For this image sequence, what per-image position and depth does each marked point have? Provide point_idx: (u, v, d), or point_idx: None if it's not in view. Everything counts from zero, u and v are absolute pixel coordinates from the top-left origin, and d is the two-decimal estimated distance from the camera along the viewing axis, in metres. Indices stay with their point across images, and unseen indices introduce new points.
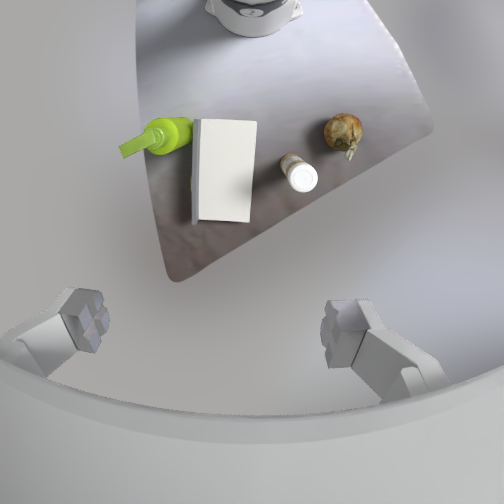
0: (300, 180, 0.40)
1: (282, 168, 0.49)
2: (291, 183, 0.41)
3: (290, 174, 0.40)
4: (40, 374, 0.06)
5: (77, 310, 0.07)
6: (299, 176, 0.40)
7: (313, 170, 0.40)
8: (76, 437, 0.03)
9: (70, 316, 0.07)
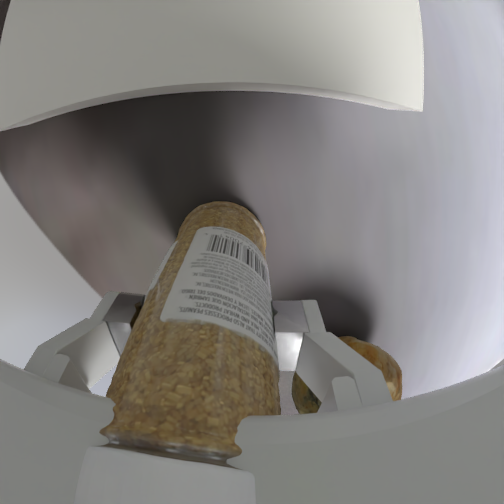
0: None
1: (201, 231, 0.10)
2: None
3: None
4: (85, 389, 0.06)
5: (126, 317, 0.07)
6: None
7: None
8: (76, 437, 0.03)
9: (119, 324, 0.07)
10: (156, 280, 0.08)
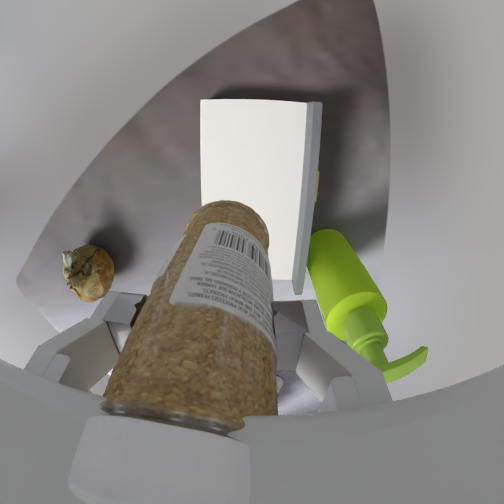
0: None
1: (209, 226, 0.10)
2: (89, 502, 0.02)
3: None
4: (85, 389, 0.06)
5: (127, 317, 0.07)
6: None
7: None
8: (76, 437, 0.03)
9: (119, 324, 0.07)
10: (165, 268, 0.08)
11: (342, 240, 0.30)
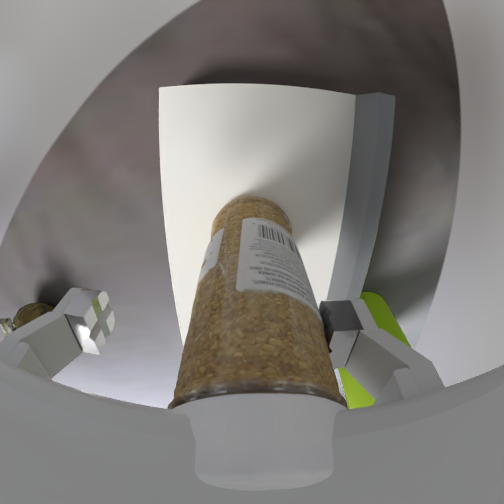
0: None
1: (248, 221, 0.11)
2: None
3: (303, 478, 0.03)
4: (45, 376, 0.06)
5: (82, 311, 0.07)
6: None
7: None
8: (76, 437, 0.03)
9: (75, 317, 0.07)
10: (215, 260, 0.09)
11: (387, 316, 0.19)
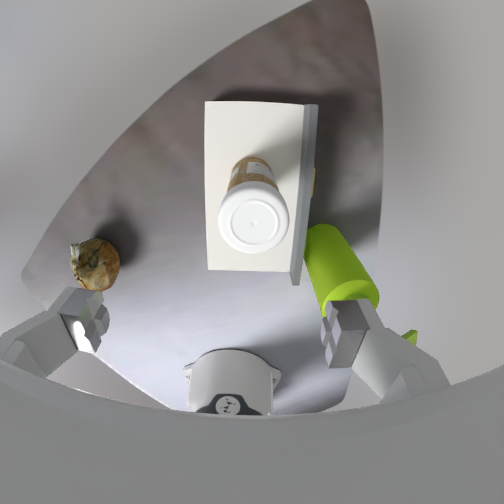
0: (249, 215, 0.17)
1: (250, 162, 0.24)
2: (240, 193, 0.16)
3: (264, 190, 0.16)
4: (40, 374, 0.06)
5: (77, 310, 0.07)
6: (259, 213, 0.17)
7: (274, 244, 0.18)
8: (76, 437, 0.03)
9: (70, 316, 0.07)
10: (237, 171, 0.22)
11: (337, 234, 0.32)
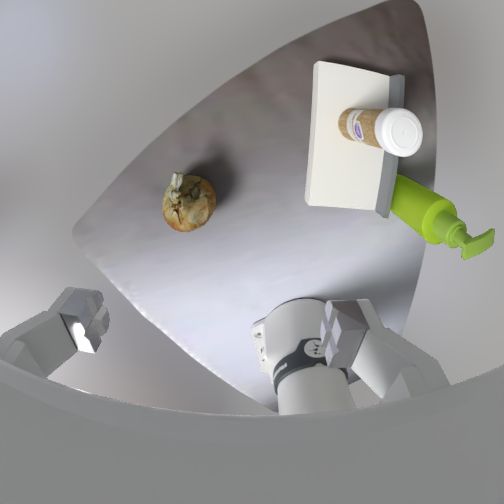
0: (402, 126, 0.19)
1: (363, 108, 0.27)
2: (398, 111, 0.18)
3: (410, 112, 0.18)
4: (40, 374, 0.06)
5: (77, 310, 0.07)
6: (408, 126, 0.19)
7: (414, 151, 0.20)
8: (76, 437, 0.03)
9: (70, 316, 0.07)
10: (363, 110, 0.25)
11: (411, 180, 0.34)
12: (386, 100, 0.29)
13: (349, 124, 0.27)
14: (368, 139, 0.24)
